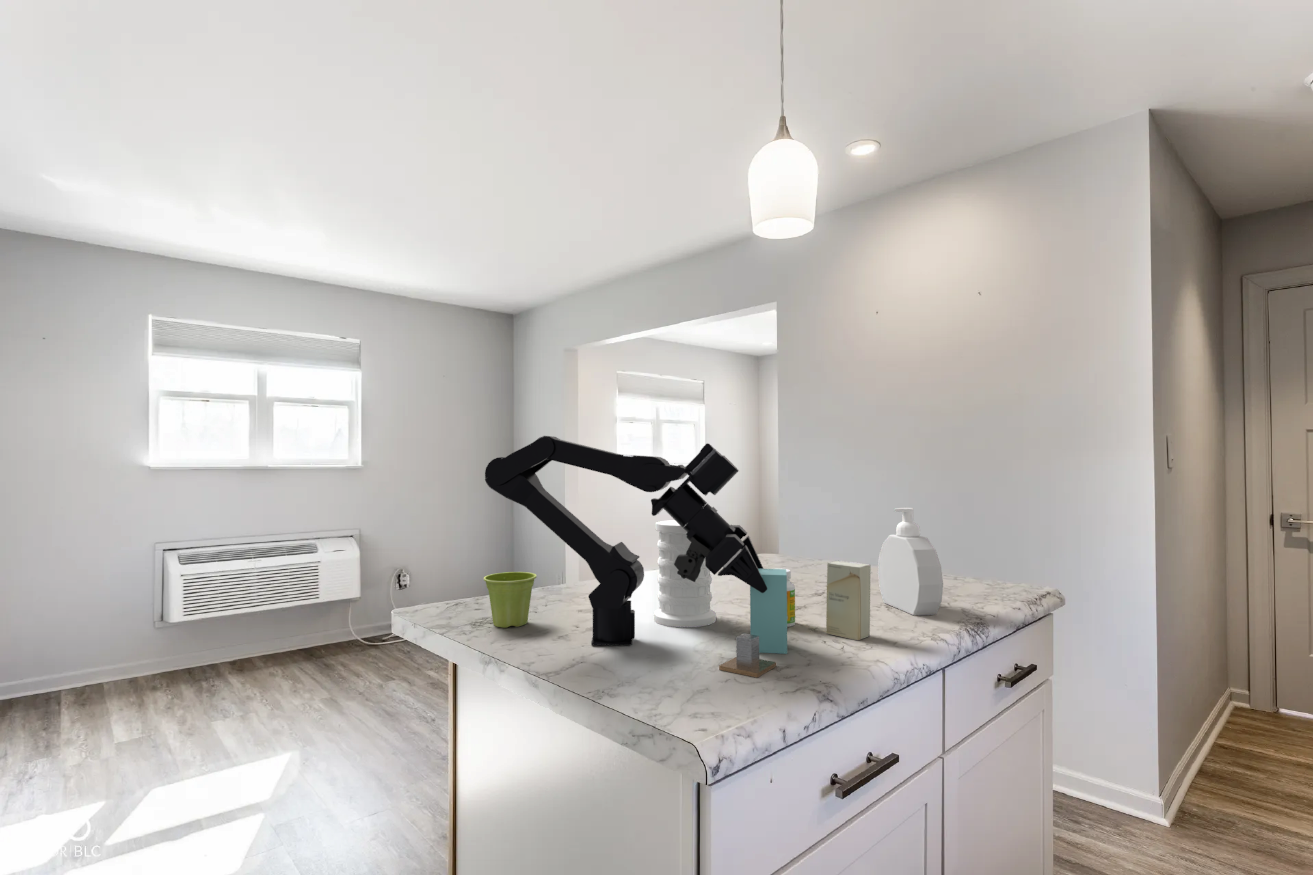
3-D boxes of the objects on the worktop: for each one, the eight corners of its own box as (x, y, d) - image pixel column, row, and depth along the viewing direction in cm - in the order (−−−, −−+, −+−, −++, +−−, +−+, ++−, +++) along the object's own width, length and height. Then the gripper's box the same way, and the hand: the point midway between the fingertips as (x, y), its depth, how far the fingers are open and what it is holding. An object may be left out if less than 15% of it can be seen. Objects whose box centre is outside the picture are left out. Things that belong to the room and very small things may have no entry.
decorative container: (707, 629, 117) (707, 526, 118) (645, 624, 121) (645, 524, 121) (721, 614, 128) (721, 520, 129) (664, 610, 132) (664, 519, 132)
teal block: (750, 651, 103) (750, 574, 104) (751, 642, 109) (751, 568, 109) (787, 653, 102) (786, 575, 103) (786, 643, 108) (785, 569, 108)
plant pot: (515, 633, 115) (515, 582, 115) (472, 627, 119) (472, 578, 119) (546, 620, 124) (546, 573, 124) (505, 615, 128) (506, 570, 128)
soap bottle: (876, 600, 140) (874, 505, 141) (899, 599, 141) (898, 505, 141) (918, 618, 124) (916, 511, 125) (944, 617, 125) (942, 511, 126)
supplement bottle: (795, 628, 118) (794, 573, 118) (764, 626, 119) (764, 572, 119) (795, 621, 123) (794, 568, 123) (765, 619, 124) (765, 567, 124)
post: (719, 669, 95) (719, 637, 95) (739, 659, 100) (739, 628, 100) (757, 677, 91) (757, 644, 91) (776, 666, 96) (775, 634, 96)
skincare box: (825, 634, 114) (824, 562, 114) (838, 629, 117) (837, 559, 117) (860, 641, 109) (859, 566, 110) (872, 635, 113) (871, 563, 113)
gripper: (669, 543, 118) (733, 607, 116) (651, 559, 100) (726, 635, 98) (713, 498, 117) (778, 562, 115) (702, 506, 99) (780, 582, 96)
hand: (765, 585), depth 106 cm, fingers open, 9 cm apart
